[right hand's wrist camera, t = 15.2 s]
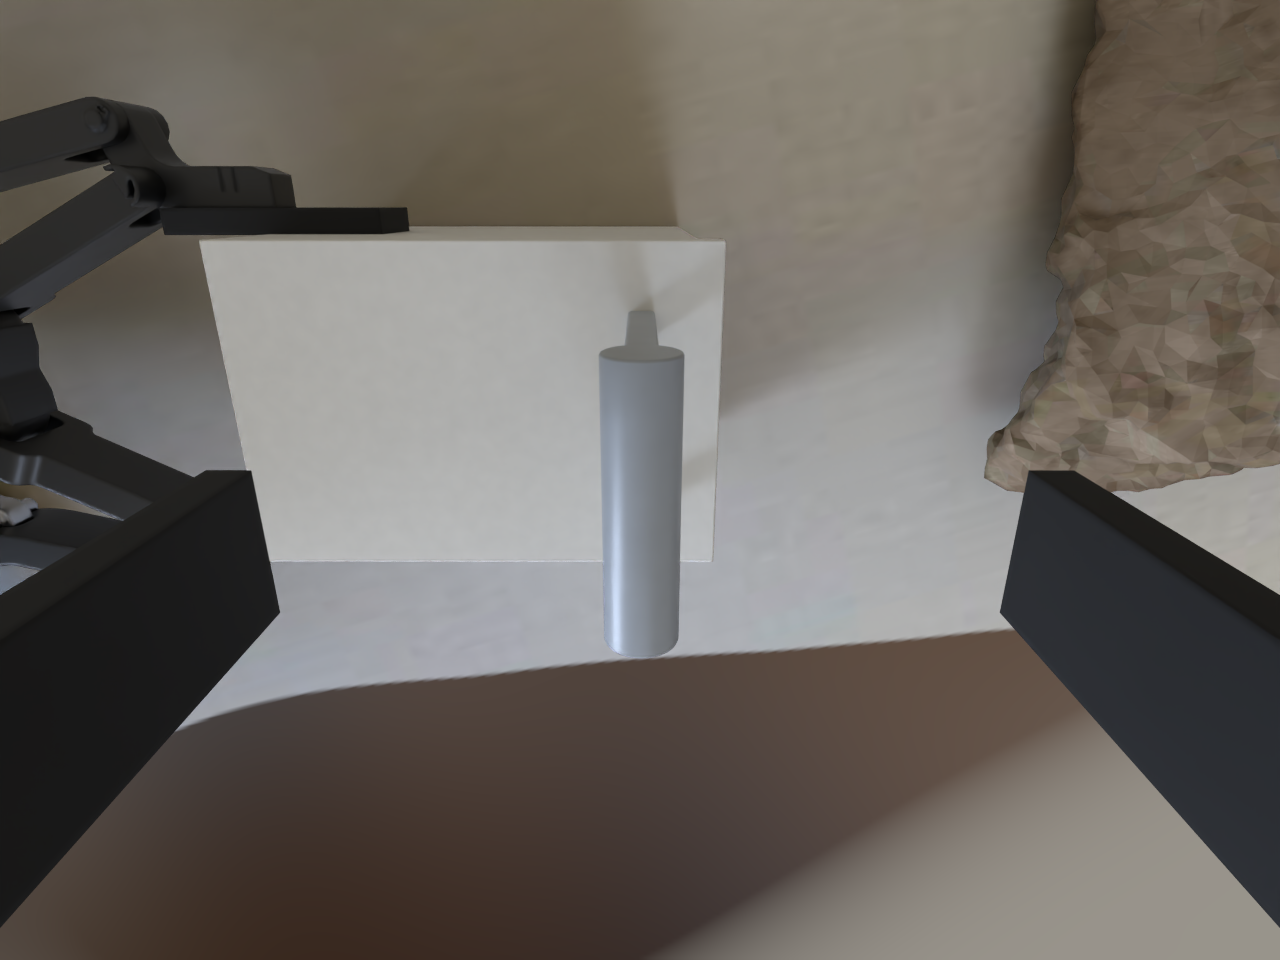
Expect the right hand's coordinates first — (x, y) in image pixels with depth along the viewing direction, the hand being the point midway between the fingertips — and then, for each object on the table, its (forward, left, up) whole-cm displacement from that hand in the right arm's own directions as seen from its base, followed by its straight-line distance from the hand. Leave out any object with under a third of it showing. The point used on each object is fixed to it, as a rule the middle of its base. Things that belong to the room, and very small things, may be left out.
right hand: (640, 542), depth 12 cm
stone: (-22, -5, -20) cm, 30 cm away
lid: (+5, 0, -9) cm, 10 cm away
